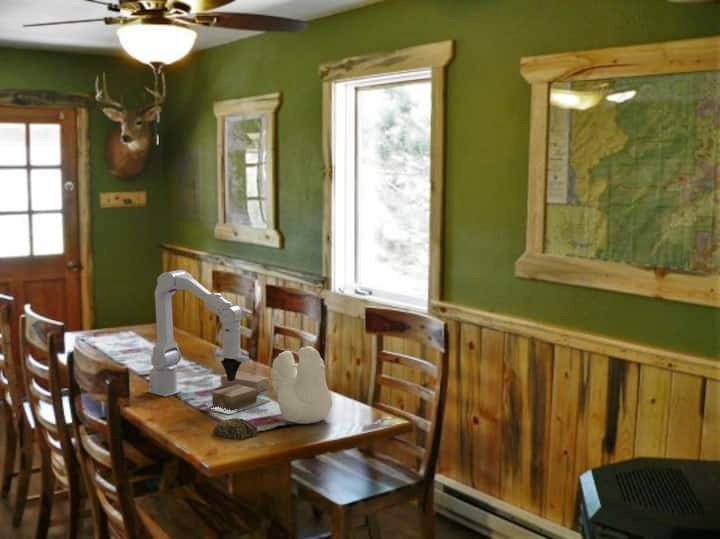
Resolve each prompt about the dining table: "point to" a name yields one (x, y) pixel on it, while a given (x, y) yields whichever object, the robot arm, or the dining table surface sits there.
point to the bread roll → (235, 429)
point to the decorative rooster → (301, 386)
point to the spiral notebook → (259, 401)
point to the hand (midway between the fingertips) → (231, 380)
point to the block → (234, 397)
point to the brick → (246, 381)
